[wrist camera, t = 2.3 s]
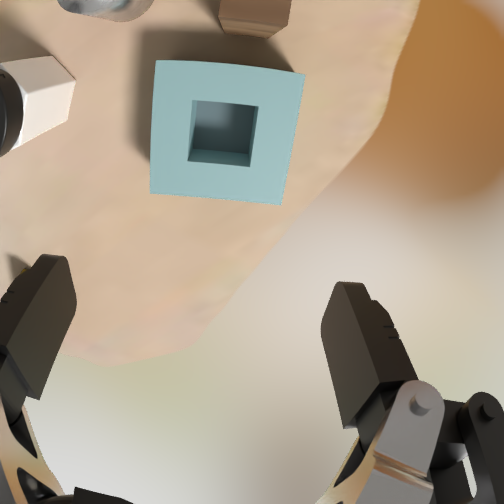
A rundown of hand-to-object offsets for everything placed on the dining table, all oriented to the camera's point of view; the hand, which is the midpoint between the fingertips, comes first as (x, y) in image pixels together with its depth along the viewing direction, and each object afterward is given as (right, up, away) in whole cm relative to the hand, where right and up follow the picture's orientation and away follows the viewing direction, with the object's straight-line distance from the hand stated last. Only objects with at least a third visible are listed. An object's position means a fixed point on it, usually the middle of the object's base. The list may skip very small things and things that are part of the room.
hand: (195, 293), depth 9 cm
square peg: (+1, +23, +15) cm, 27 cm away
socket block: (-1, +14, +20) cm, 25 cm away
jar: (-21, +18, +17) cm, 32 cm away
